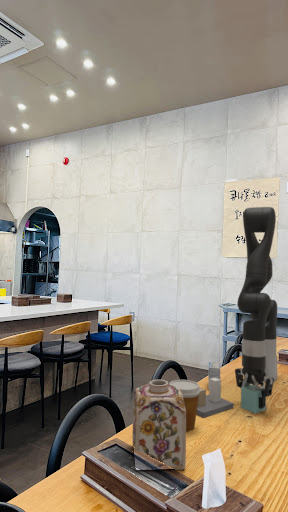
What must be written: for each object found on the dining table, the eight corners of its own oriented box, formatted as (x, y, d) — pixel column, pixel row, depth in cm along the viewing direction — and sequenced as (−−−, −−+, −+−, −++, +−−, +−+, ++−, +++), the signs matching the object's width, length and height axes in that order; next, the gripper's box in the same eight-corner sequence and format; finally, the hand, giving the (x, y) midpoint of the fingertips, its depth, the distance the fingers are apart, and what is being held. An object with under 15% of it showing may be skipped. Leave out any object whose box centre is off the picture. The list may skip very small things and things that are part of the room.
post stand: (211, 398, 121) (211, 373, 121) (233, 407, 113) (233, 381, 113) (181, 406, 113) (181, 380, 113) (203, 417, 105) (203, 389, 105)
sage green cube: (251, 404, 116) (251, 384, 116) (266, 409, 112) (266, 389, 112) (240, 407, 113) (241, 387, 113) (255, 413, 108) (255, 392, 109)
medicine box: (220, 391, 128) (220, 368, 128) (208, 390, 128) (208, 367, 129) (219, 384, 135) (220, 362, 136) (208, 383, 136) (208, 361, 136)
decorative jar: (186, 471, 77) (187, 390, 78) (134, 472, 76) (136, 390, 77) (176, 444, 89) (178, 374, 89) (132, 445, 88) (133, 374, 89)
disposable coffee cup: (202, 422, 102) (203, 381, 102) (196, 437, 93) (197, 392, 93) (171, 417, 105) (172, 377, 105) (163, 431, 96) (163, 387, 96)
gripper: (280, 356, 109) (279, 410, 109) (243, 347, 121) (242, 395, 120) (265, 359, 105) (265, 415, 104) (229, 349, 117) (228, 400, 116)
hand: (253, 404), depth 112 cm, fingers closed on sage green cube, 5 cm apart
